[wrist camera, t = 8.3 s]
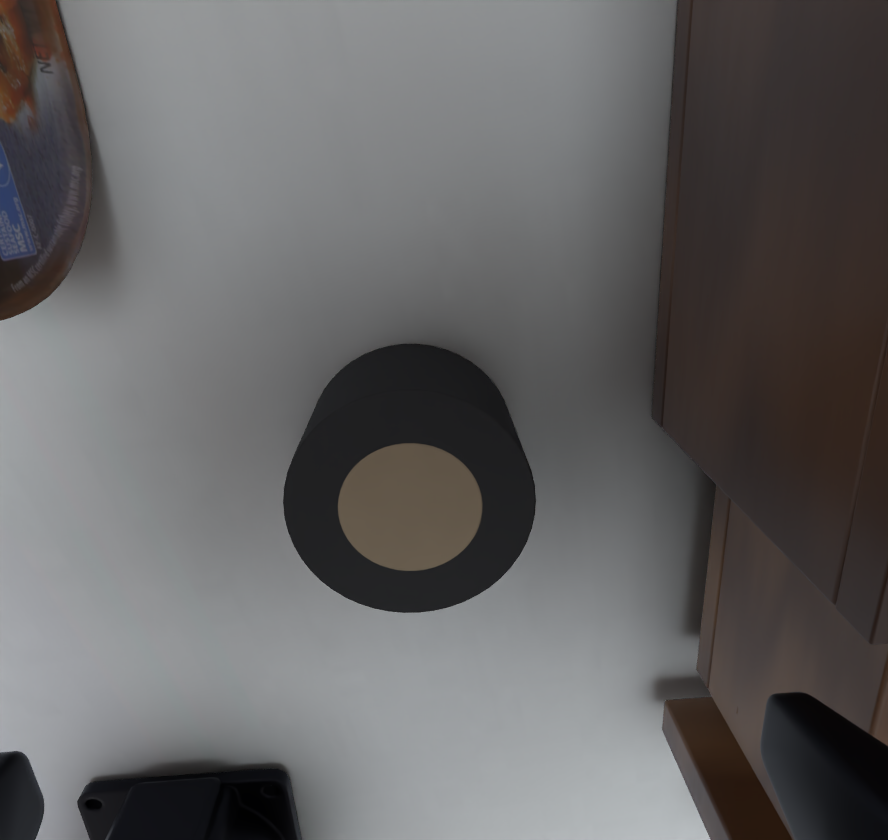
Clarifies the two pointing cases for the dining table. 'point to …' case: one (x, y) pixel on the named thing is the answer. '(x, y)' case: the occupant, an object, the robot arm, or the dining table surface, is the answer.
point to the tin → (39, 155)
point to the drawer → (762, 675)
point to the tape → (409, 482)
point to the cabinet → (783, 280)
